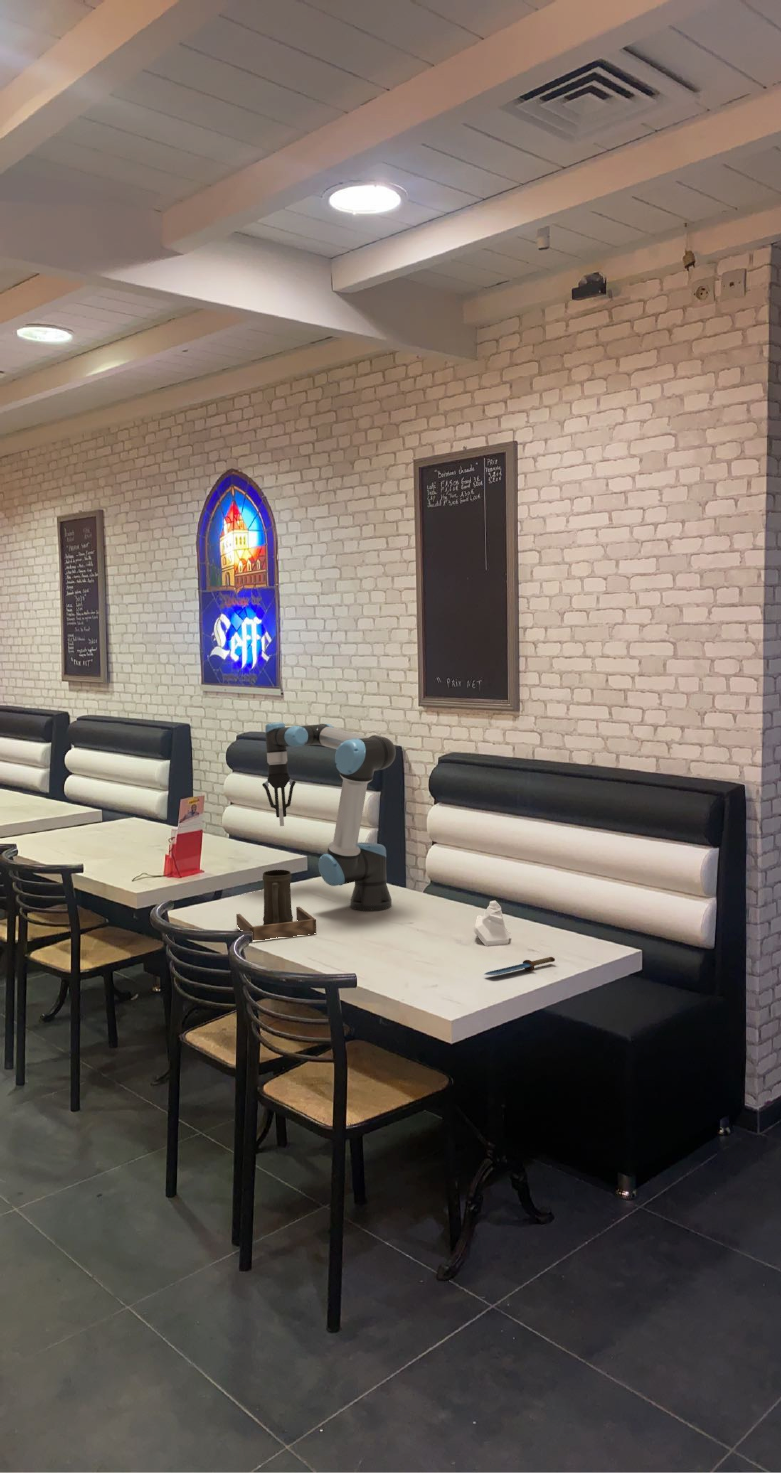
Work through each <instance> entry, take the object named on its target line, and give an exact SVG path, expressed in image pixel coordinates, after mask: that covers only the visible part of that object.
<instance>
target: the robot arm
mask: <svg viewBox="0 0 781 1473" xmlns="http://www.w3.org/2000/svg"><path fill="white" fill-rule="evenodd" d="M264 727H265V730H264V732H265V733H264V735H265V736H264V737H265V743H266V744H265V746H266V748H265V749H266V760H267V764H268V765H267V773H268V776H267V780H266V781H265V782H263V783H262V787H263V788H264V790H265V793H266V796H267V799H268V802H269V805H270V807H271V808H272V809H275V817H276V818H279V827H285V820H284V819H285V817H287V809H288V807H290V806H291V803H292V796H293V790H294V787H295V785H296V782H297V781H296V780H293V779H291V776H290V775H289V766H288V764H287V763H288V752H287V750H288V749H287V748H300V747H304V746H306V747H307V746H314V745H319V746H322V747H326V748H331V749H334V750H335V756H334V763H335V764H336V765H335V767H336V769H337V770H338V772H339V776H340V777H341V779H342V784H341V791H340V798H339V803H338V811H337V816H336V823H335V828H334V835H333V839H332V840H333V841H332V842H329V844H327V849H326V851H327V852H326V853H323V854H322V855H321V856H320V857H319V859H318V871H319V874H320V875H321V878H322V880H323V881H324V882H325V883H326V884H327V885H329V886H331V887H336V886H344V885H346V884H350V883H354V886H353V890H352V894H351V898H350V901H349V902H350V903H349V904H350V908H352V909H354V910H358V911H364V912H366V911H367V912H368V911H369V912H374V911H375V912H376V911H382V910H387V909H389V908H391V907H392V906H393V904H392V903H393V902H392V897H391V894H390V890H389V888H388V883H387V882H388V881H387V849H386V846H384V845H383V844H381V843H380V844H379V843H374V842H362V841H361V842H358V841H359V837H360V831H361V823H362V819H363V813H364V812H363V811H364V807H365V800H366V794H367V793H366V792H367V787H368V784H369V783H371V782H372V781H373V778H374V773H375V771H381V770H385V769H386V768H389V767H390V766H391V765H392V764H393V762H394V761H395V759H396V754H397V753H396V752H397V751H396V746H395V744H394V742H393V741H392V740H390V739H389V738H388V737H385V736H380V735H376V734H373V735H370V736H368V735H364V734H359V733H356V732H351V731H347V730H343V729H340V728H335V727H333V726H332V725H331V724H330V723H318V724H311V725H299V726H298V725H295V726H293V725H292V726H286V725H285V723H284V722H273V723H266V724H265V726H264ZM288 783H289V784H288ZM269 785H270V786H271V787H272V788H273V789H274V790H273V791H274V792H273V793H274V802H273V798H272V795H271V791H270V789H269V787H270V786H269ZM287 785H290V786H289V791H288V799H287V801H286V794H285V793H286V792H285V790H286V786H287ZM279 789H280V791H281V792H280V793H281V805H282V807H281V808H280V804H279V801H280V800H279ZM286 802H287V803H286ZM274 803H275V804H274Z"/></svg>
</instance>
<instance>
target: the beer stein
mask: <svg viewBox="0 0 781 1473" xmlns="http://www.w3.org/2000/svg"><path fill="white" fill-rule="evenodd" d="M261 878H262V881H263V918H262V921H263V923H262V925H269V924H277V923H285V922H293V919H294V916H293V912H292V911H293V910H292V898H291V897H292V896H291V880H292V878H293V877H292V873H291V871H290V870H288V869H271V870H267V871H265V872H263V873H262V877H261Z"/></svg>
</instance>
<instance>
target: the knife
mask: <svg viewBox="0 0 781 1473" xmlns="http://www.w3.org/2000/svg"><path fill="white" fill-rule="evenodd" d="M555 961H556V959H555V957H554V956H549V957H548V956H547V957H545V958H540V959H536V960H530V959H524V960H523V961H522V963H521V964H516V965H512V966H508V967H504V968H500V969H494V970H490V971H487V972H485V973H484V975H485V976H498V975H503V974H506V973H510V972H514V971H519V970H524V969H525V970H527V971H532V970H534V969H535V966H539V965H540V966H541V965H543V964H548V963H553V962H555Z"/></svg>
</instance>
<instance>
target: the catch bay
mask: <svg viewBox="0 0 781 1473" xmlns="http://www.w3.org/2000/svg"><path fill="white" fill-rule="evenodd" d="M295 916H296V920H294V921H293V922H285V923H277V924H269V925H263V924H262V925H254V926H253V925H252V924H251V923H250V922H249V921H248V920H247V919H246V918H245V917H244V916H243V915H242V914H241V913H236V916H235V917H236V926H237V925H238V927H239V928H240V930H243V931H252V932H253V940H265V939H270V938H276V937H277V938H278V937H293V936H297V935H308V934H314V933H316V934H317V919H316V918H315V917H313V916H312V915H311V914H309V913H308V912H307V911H305V910H304V908H302V907H301V906H296V915H295ZM297 920H298V921H297ZM308 936H309V935H308ZM293 938H294V937H293Z"/></svg>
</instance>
